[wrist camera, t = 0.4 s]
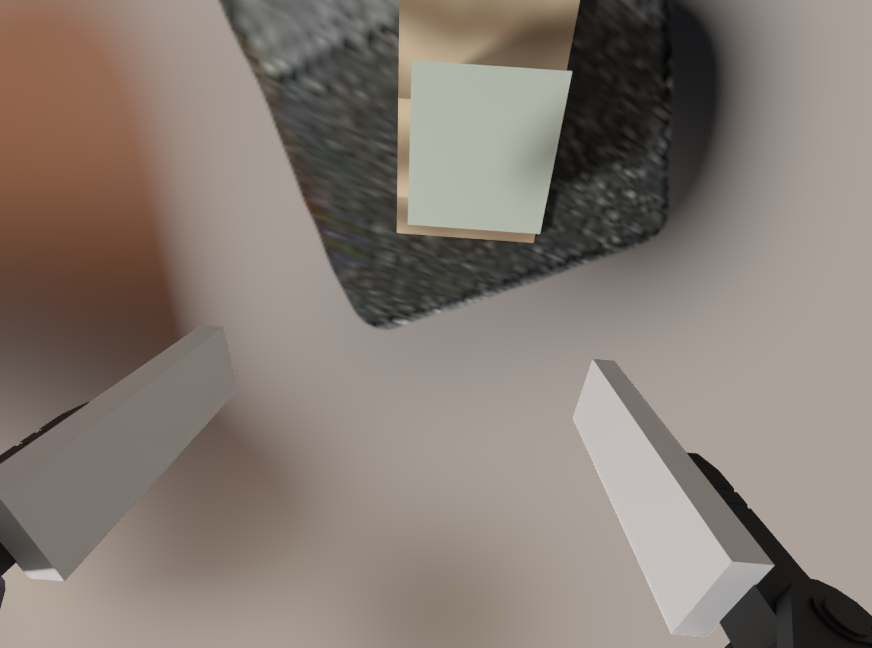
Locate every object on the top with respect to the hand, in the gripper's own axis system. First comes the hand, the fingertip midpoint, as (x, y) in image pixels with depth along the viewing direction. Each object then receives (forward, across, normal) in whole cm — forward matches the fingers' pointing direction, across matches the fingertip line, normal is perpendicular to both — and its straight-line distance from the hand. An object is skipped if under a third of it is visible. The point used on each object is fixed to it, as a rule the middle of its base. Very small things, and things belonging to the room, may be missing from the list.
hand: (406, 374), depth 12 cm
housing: (+22, +3, +7) cm, 24 cm away
